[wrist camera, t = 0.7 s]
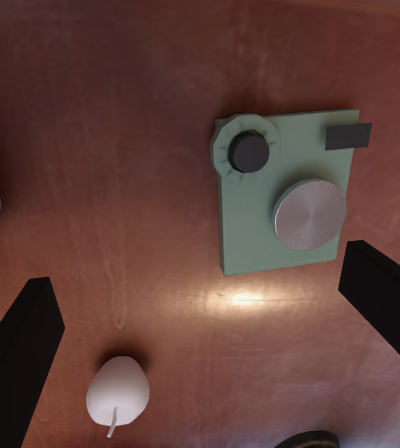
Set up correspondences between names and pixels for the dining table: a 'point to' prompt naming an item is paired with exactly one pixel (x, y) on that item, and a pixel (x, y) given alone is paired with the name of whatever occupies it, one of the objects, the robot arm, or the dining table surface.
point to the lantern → (311, 440)
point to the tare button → (249, 152)
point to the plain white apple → (117, 393)
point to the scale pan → (317, 198)
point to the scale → (273, 184)
